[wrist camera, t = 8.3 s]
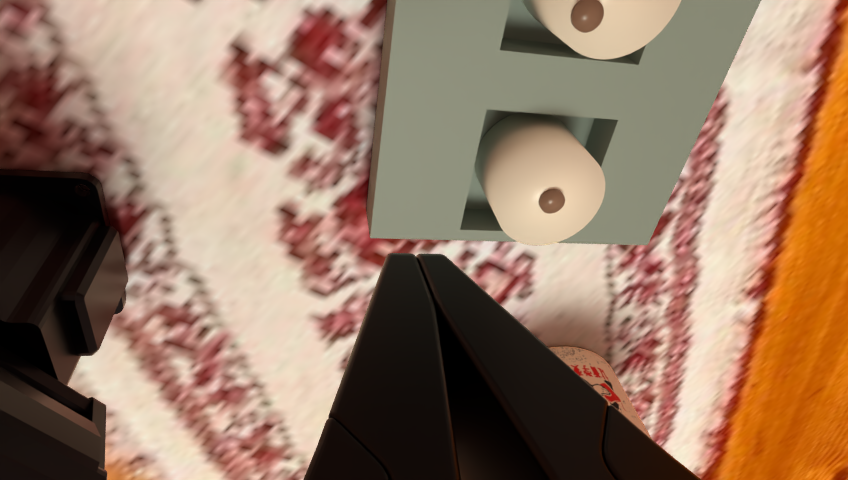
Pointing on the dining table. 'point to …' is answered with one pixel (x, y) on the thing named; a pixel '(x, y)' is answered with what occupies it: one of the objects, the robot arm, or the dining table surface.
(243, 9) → the dining table surface
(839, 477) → the dining table surface
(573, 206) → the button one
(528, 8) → the button two
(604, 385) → the teacup with lid
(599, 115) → the board
